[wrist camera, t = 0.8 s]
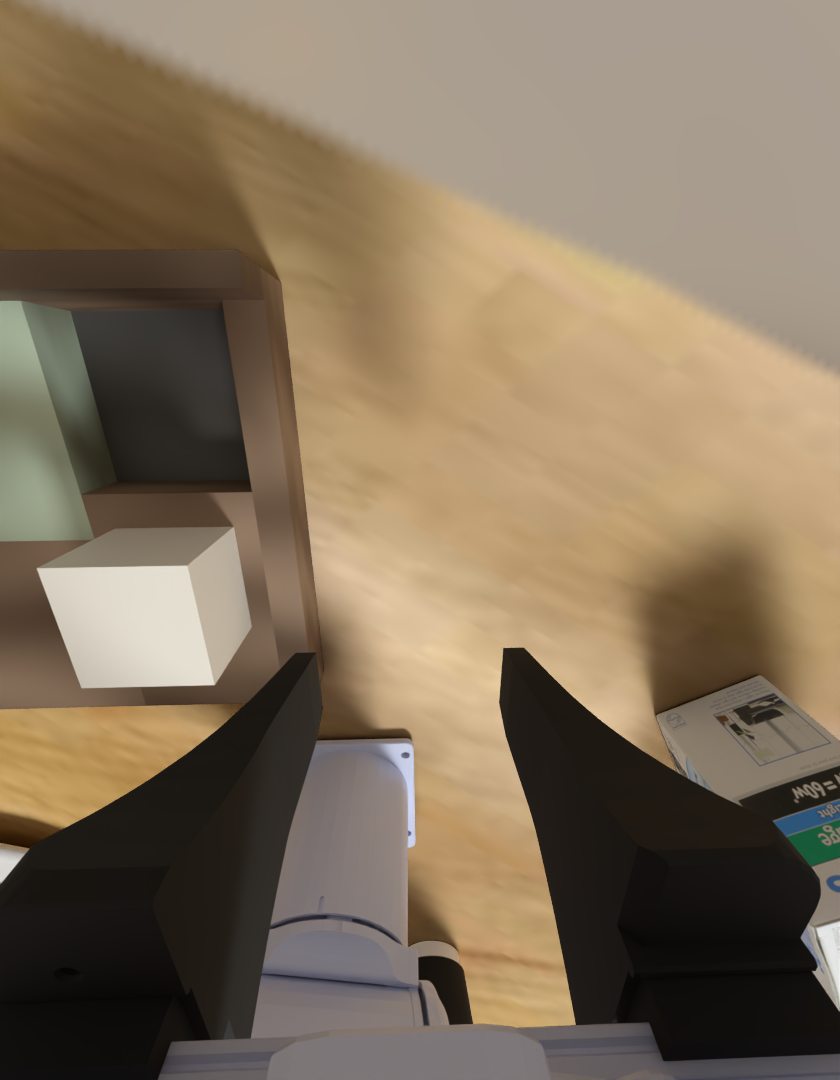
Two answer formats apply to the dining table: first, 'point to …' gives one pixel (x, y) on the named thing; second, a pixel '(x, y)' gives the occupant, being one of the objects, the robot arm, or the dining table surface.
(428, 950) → the dixie cup
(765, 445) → the dining table surface
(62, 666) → the brown wooden tray
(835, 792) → the light bulb box
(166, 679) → the cream block
